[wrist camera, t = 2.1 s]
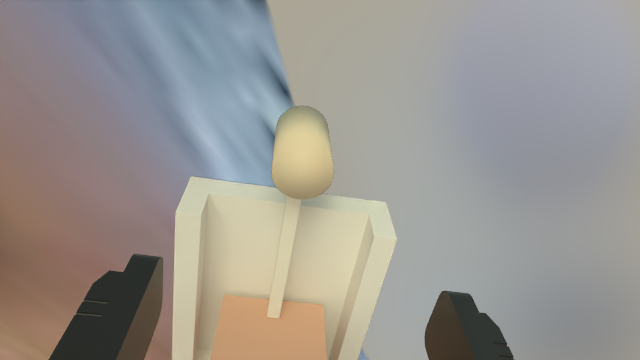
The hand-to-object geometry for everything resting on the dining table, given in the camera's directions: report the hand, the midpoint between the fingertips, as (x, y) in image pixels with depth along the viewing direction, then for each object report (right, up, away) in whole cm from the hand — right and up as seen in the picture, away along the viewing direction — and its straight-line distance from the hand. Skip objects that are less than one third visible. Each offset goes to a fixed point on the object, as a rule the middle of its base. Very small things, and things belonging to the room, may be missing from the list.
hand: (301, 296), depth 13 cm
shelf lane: (-2, -3, +15) cm, 16 cm away
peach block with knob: (-2, 0, +13) cm, 13 cm away
